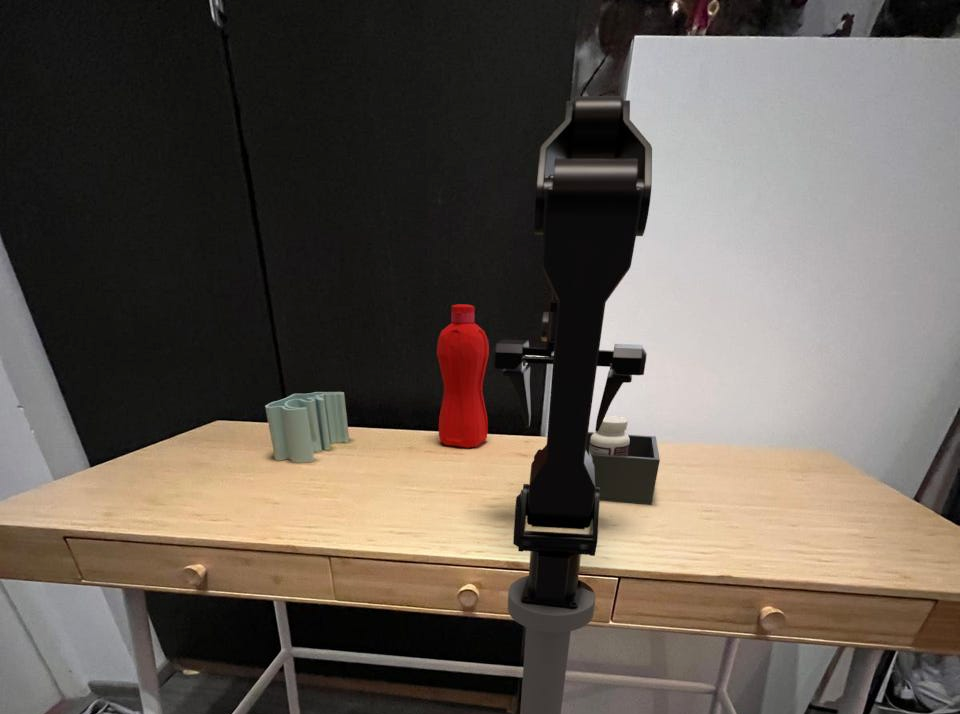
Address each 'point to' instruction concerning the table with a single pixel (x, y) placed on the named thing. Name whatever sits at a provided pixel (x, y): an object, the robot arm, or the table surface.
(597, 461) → the waste bin
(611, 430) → the pill bottle
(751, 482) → the table surface
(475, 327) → the water bottle
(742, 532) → the table surface
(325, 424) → the squiggly pen holder
